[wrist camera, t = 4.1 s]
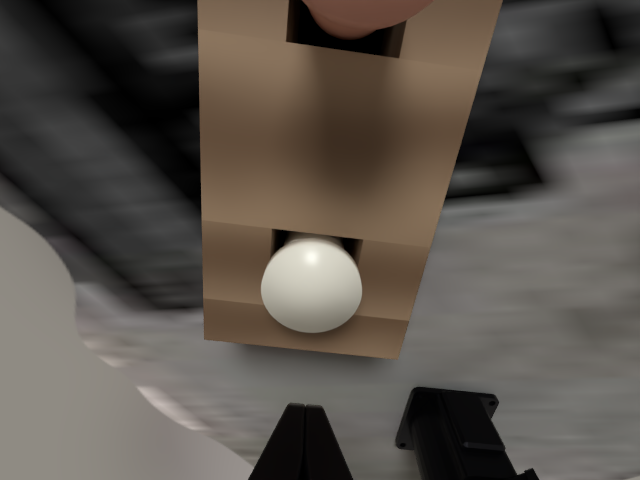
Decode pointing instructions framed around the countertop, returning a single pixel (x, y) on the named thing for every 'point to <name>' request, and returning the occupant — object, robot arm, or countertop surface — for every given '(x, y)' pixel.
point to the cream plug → (311, 283)
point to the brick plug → (361, 15)
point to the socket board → (329, 158)
